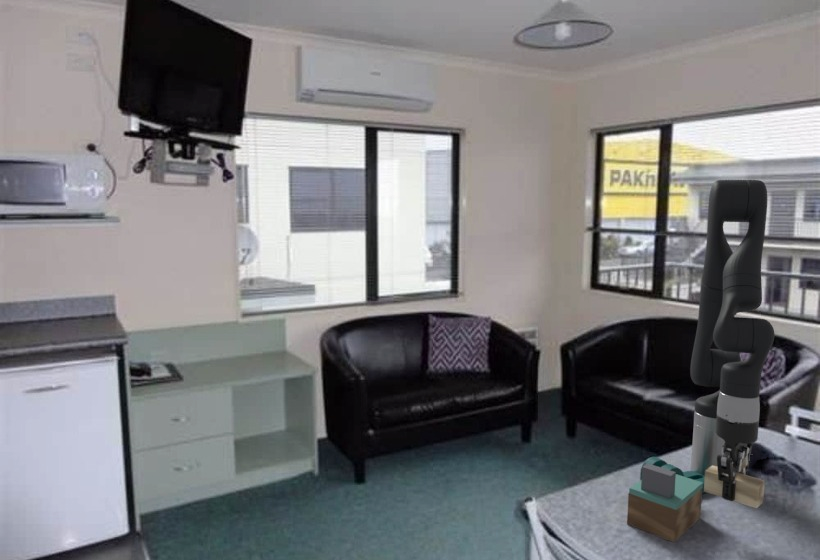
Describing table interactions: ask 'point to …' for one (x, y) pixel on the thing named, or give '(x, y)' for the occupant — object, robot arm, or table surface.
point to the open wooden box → (663, 516)
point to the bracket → (664, 465)
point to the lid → (665, 487)
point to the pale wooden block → (745, 491)
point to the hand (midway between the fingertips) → (732, 495)
